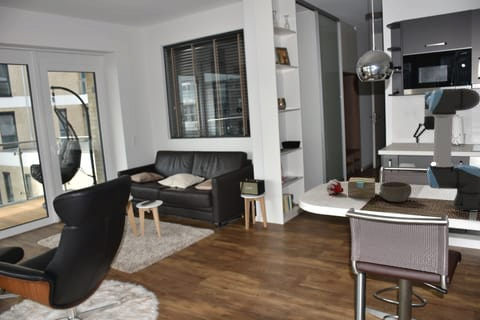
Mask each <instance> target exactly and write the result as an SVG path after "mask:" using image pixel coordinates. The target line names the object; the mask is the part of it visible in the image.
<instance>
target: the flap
mask: <svg viewBox="0 0 480 320" xmlns="http://www.w3.org/2000/svg"><path fill="white" fill-rule="evenodd" d="M374 180H375V181H376V178H375V177H350V178H349V180H348V182H349V183H357V188H358V189H363V188H364V184H374Z"/></svg>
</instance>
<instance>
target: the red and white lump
mask: <svg viewBox="0 0 480 320" xmlns="http://www.w3.org/2000/svg"><path fill="white" fill-rule="evenodd" d="M326 192H327V193H328V194H330V195H338V194H340V193H341V194H342V193H343V192H344V188H343V187H342V183H341V181H339V180H338V179H335V178H334V179H331V180H329V181H328V182H327V184H326Z"/></svg>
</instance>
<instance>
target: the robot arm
mask: <svg viewBox="0 0 480 320" xmlns="http://www.w3.org/2000/svg"><path fill="white" fill-rule="evenodd" d="M423 97H424V108H423V109H424V111H423V112H424V114H423V115H424V117H423V123H421V122H419V123H418V126H417V128H416V130H415V132H414V133H413V136H412V137H413V138H415V143H416V144H417V148H418V149H420V136H421V135H423V133H424V132H425V131H426V130H428V131H430V130H431V131H433V132H434V133H433V134H434V136H433V159H432V160H433V161H432V162H430V164H429V165H430V166H428V167H427V168H426V176H427V183H428V186H429V187H430V188H431V189H438V190H441V189H442V190H446V189H447V190H456V195H455V196H454V199H453V201H452V208H453V207H455V208H458V209H463V210H480V167H478V166H475V165H468V164H458V165H457V167H455V165H454V163H453V162H452V141H453V139H452V138H453V118H454V117H455V116H456V115H457V111H468V110H471V109H474V108H475V107H476V106H478V104H479V103H480V94H479V92H478V91H476V90H475V89H472V88H465V87H462V88H439V89H434V90H433V91H426V92H425V93H424V96H423ZM421 127H424V128H423V129H422V130H421ZM420 130H421V131H420ZM419 131H420V132H419ZM455 208H454V209H455ZM458 209H457V210H458ZM463 210H462V211H463Z"/></svg>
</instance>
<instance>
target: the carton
mask: <svg viewBox="0 0 480 320" xmlns="http://www.w3.org/2000/svg"><path fill="white" fill-rule="evenodd" d="M375 196H376V179H375V180H374V184H364V188H363V189H358V188H357V183H349V181H348V182H347V198H363V199H365V198H367V199H369V198H370V199H375Z"/></svg>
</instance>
